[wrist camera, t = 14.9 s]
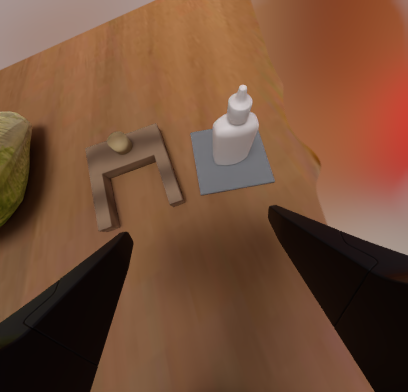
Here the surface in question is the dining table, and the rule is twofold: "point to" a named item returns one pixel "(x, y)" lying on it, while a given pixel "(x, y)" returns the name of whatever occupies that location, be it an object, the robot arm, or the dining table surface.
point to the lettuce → (13, 161)
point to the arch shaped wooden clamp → (127, 169)
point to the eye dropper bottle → (235, 130)
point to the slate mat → (229, 166)
